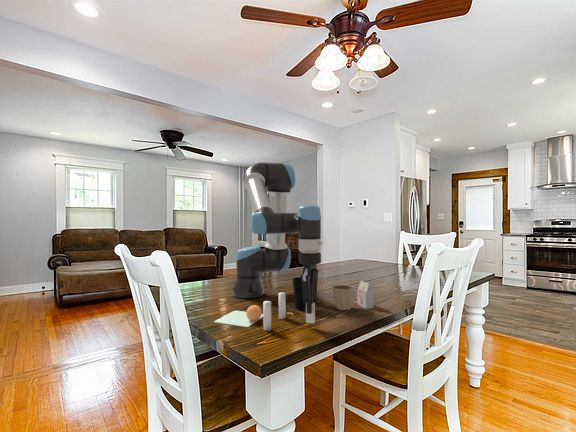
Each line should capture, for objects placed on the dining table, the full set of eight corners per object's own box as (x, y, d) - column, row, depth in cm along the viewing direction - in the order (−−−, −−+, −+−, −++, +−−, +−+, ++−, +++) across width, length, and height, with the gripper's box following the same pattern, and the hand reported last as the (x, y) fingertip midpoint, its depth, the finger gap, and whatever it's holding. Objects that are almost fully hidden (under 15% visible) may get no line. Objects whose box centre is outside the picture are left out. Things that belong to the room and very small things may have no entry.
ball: (266, 315, 105) (254, 320, 106) (260, 301, 106) (248, 306, 107) (260, 320, 100) (247, 325, 101) (253, 305, 100) (241, 311, 102)
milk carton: (364, 303, 124) (364, 280, 124) (373, 308, 118) (373, 283, 118) (357, 304, 123) (356, 281, 123) (365, 309, 117) (365, 284, 117)
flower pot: (330, 304, 123) (330, 284, 123) (352, 304, 122) (352, 284, 123) (333, 311, 113) (333, 289, 114) (357, 311, 113) (357, 289, 113)
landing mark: (234, 310, 115) (234, 310, 115) (266, 314, 110) (266, 314, 110) (213, 322, 102) (213, 321, 102) (247, 327, 97) (247, 326, 97)
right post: (280, 316, 108) (280, 292, 109) (286, 316, 107) (286, 292, 108) (277, 318, 106) (277, 293, 106) (284, 319, 105) (283, 294, 105)
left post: (265, 327, 97) (265, 300, 97) (272, 328, 96) (272, 301, 96) (262, 330, 94) (261, 302, 94) (269, 331, 93) (269, 303, 93)
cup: (309, 311, 114) (309, 281, 114) (291, 310, 115) (290, 280, 116) (312, 306, 121) (311, 277, 122) (294, 305, 123) (294, 276, 123)
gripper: (315, 254, 89) (315, 330, 89) (325, 250, 101) (326, 317, 101) (292, 253, 92) (293, 327, 91) (305, 249, 104) (305, 315, 103)
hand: (310, 322), depth 96 cm, fingers closed
